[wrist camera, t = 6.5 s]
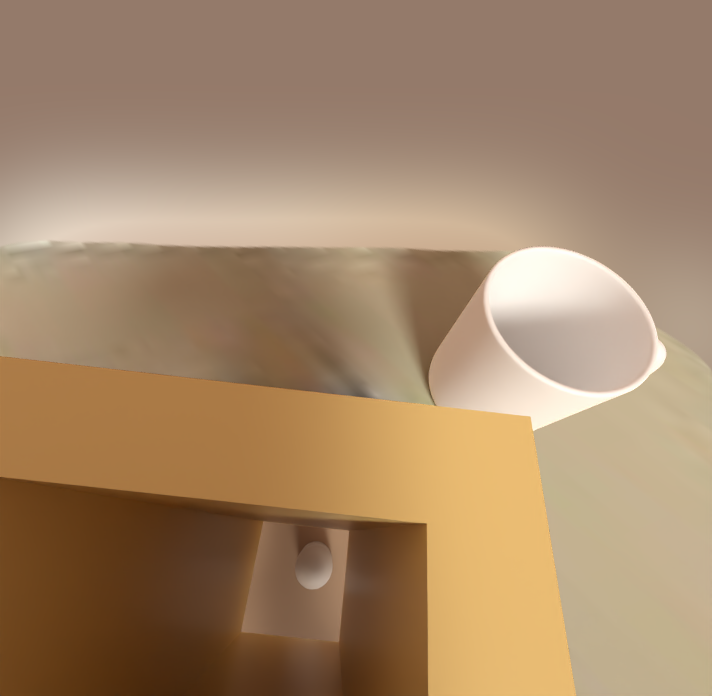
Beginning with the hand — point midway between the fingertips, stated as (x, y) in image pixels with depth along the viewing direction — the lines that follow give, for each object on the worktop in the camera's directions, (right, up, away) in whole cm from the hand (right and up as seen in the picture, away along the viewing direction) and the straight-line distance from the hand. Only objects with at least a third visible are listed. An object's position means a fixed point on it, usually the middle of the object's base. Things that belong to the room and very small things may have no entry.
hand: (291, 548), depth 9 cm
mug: (+13, +2, +16) cm, 21 cm away
